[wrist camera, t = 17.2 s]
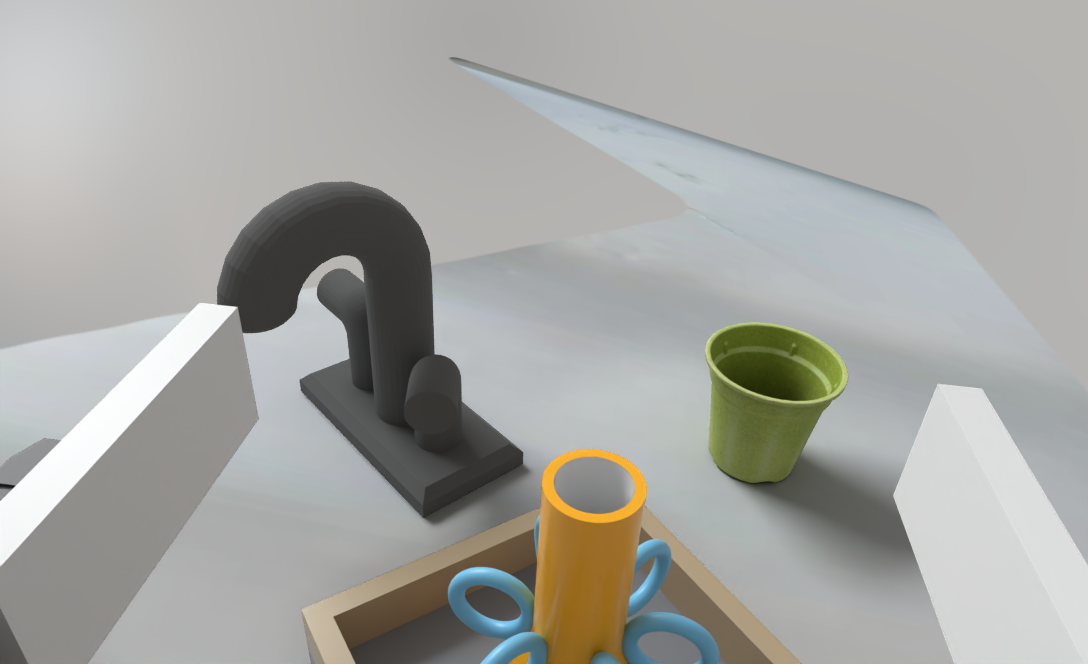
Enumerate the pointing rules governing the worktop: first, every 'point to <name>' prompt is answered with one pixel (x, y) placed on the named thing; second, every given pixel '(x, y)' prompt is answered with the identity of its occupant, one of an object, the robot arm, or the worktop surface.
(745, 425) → the plant pot
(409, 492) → the faucet
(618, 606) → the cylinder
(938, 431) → the robot arm
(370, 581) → the tan and grey tray
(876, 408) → the worktop surface
